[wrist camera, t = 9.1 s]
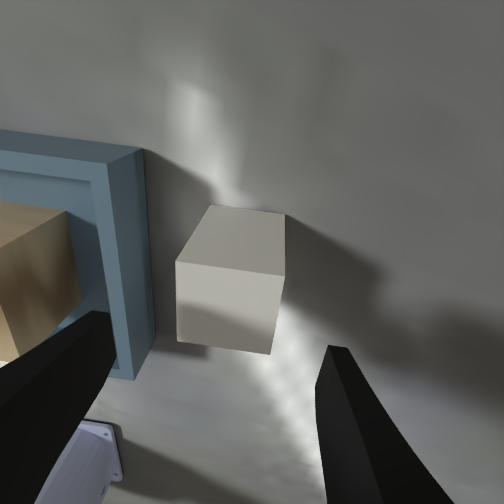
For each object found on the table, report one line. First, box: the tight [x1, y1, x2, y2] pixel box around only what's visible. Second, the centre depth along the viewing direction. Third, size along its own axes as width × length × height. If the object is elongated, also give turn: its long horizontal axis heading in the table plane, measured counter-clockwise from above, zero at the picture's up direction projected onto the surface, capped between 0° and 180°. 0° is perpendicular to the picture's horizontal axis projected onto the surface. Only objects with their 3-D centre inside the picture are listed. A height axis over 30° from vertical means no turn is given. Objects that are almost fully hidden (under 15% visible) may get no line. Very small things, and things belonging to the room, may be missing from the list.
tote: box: [0, 130, 156, 381], centre depth 17 cm, size 13×13×4 cm
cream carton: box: [175, 204, 285, 355], centre depth 14 cm, size 4×4×6 cm
